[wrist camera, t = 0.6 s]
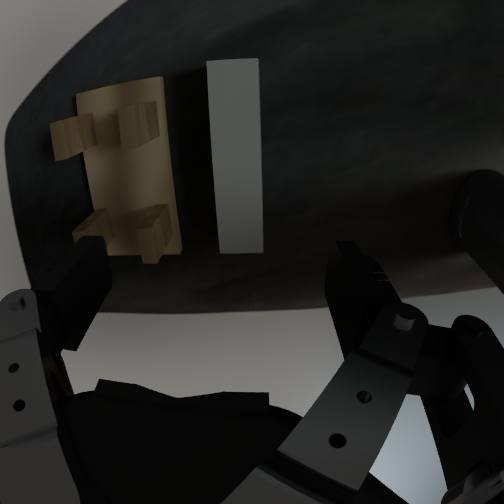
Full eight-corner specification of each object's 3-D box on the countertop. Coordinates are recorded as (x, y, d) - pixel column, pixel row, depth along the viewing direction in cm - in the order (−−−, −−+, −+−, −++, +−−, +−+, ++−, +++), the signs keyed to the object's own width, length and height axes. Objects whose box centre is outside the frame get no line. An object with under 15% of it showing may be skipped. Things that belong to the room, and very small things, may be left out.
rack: (163, 76, 23) (136, 75, 17) (182, 248, 30) (166, 285, 25) (81, 93, 23) (42, 99, 18) (109, 250, 31) (84, 283, 26)
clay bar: (258, 62, 22) (257, 58, 19) (263, 231, 30) (263, 252, 26) (214, 65, 22) (206, 61, 19) (225, 232, 30) (220, 253, 26)
